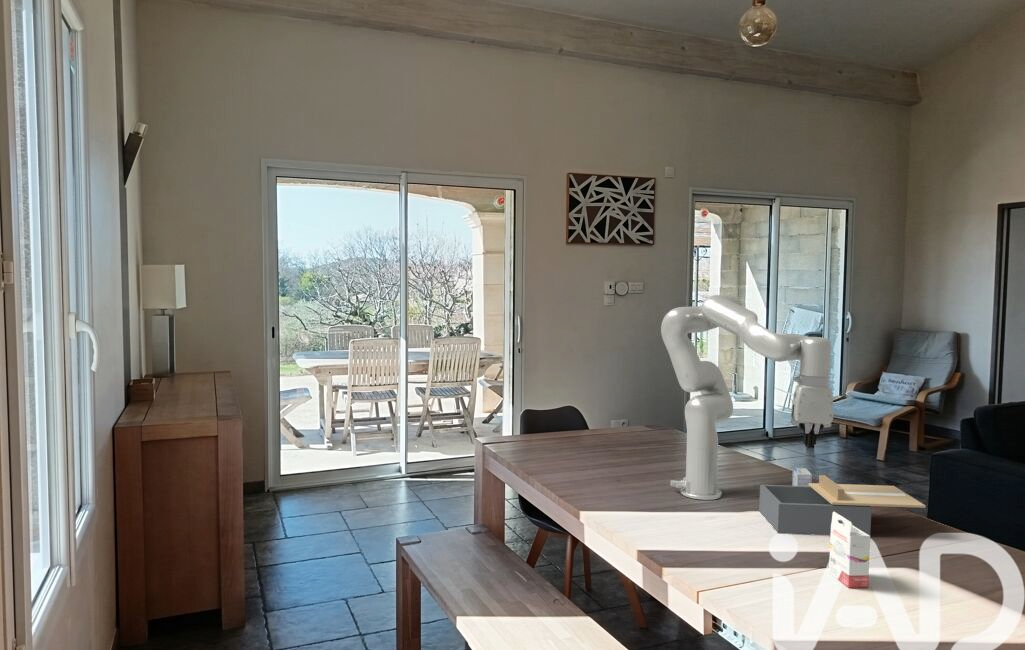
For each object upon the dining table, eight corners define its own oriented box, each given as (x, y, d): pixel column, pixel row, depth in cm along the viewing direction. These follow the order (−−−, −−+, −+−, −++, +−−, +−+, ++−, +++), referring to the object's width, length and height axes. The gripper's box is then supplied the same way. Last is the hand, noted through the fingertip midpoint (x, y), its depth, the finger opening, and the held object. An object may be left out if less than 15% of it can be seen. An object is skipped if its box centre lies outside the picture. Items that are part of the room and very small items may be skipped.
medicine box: (811, 502, 217) (812, 474, 216) (796, 501, 218) (797, 473, 217) (806, 494, 224) (807, 468, 224) (791, 493, 225) (792, 467, 225)
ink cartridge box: (869, 588, 156) (872, 522, 155) (848, 588, 155) (851, 523, 155) (848, 572, 164) (850, 510, 163) (827, 572, 164) (830, 510, 163)
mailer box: (777, 533, 189) (778, 503, 189) (759, 511, 207) (760, 484, 207) (870, 536, 188) (871, 507, 187) (843, 514, 206) (844, 487, 205)
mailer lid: (831, 504, 188) (832, 491, 188) (808, 485, 206) (809, 472, 205) (925, 507, 186) (926, 494, 186) (893, 487, 204) (894, 475, 204)
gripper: (790, 382, 192) (786, 449, 193) (846, 385, 191) (842, 451, 192) (781, 378, 199) (777, 442, 201) (836, 380, 198) (831, 444, 200)
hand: (809, 446), depth 197 cm, fingers closed
